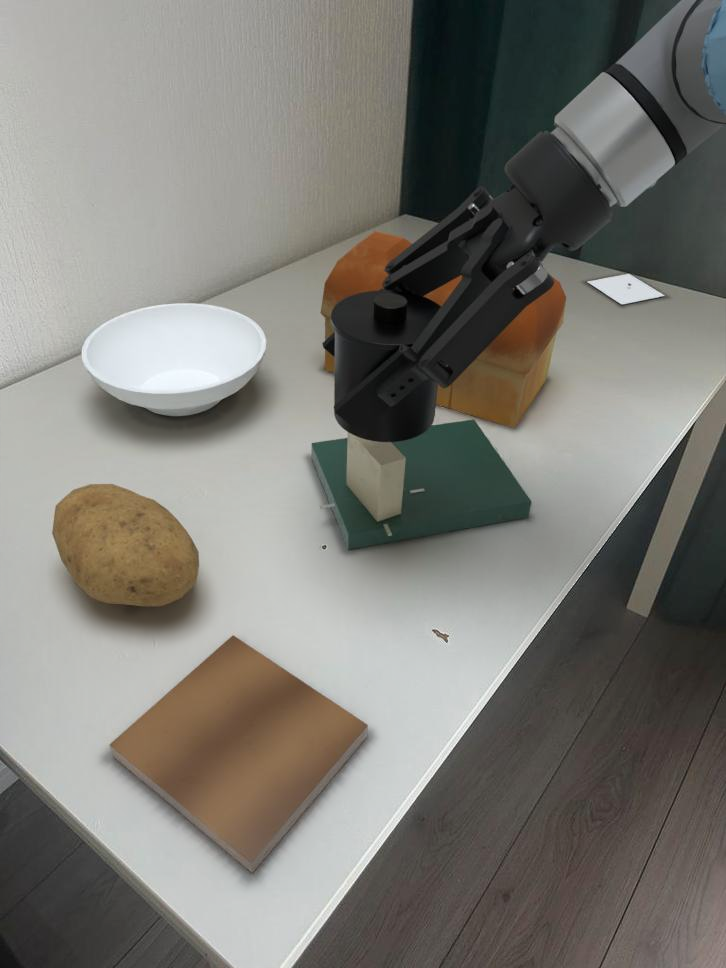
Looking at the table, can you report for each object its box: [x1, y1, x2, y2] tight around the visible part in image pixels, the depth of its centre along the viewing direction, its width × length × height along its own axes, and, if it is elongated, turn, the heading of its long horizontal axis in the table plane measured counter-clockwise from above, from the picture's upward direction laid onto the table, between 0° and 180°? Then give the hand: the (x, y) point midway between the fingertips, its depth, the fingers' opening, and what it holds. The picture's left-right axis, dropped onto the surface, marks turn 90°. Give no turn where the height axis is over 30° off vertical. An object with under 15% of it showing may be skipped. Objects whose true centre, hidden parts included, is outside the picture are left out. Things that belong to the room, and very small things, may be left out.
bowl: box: [81, 302, 267, 417], centre depth 86 cm, size 20×20×7 cm
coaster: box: [587, 273, 665, 305], centre depth 114 cm, size 8×8×1 cm
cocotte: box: [331, 290, 441, 442], centre depth 59 cm, size 9×9×10 cm
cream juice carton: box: [346, 432, 406, 522], centre depth 70 cm, size 6×2×7 cm, turn 29°
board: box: [109, 634, 369, 874], centre depth 54 cm, size 13×12×2 cm
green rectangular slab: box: [310, 419, 533, 551], centre depth 76 cm, size 15×20×2 cm
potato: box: [51, 483, 200, 607], centre depth 63 cm, size 10×14×8 cm
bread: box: [320, 230, 567, 429], centre depth 89 cm, size 25×12×15 cm, turn 63°
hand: (340, 385), depth 59 cm, fingers closed on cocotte, 9 cm apart
